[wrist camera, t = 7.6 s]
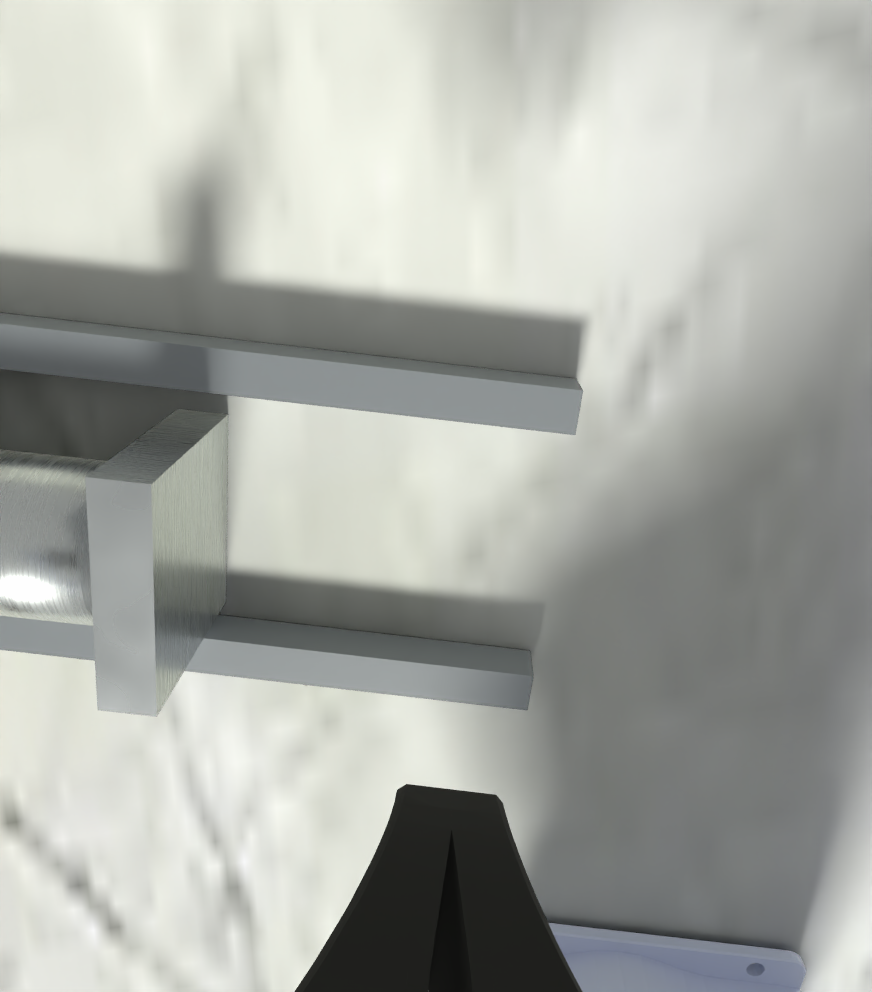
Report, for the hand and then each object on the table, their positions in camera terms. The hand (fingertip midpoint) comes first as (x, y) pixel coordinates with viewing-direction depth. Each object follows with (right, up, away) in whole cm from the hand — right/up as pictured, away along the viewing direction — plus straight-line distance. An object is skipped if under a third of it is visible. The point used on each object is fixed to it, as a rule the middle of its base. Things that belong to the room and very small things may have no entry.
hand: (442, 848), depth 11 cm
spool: (-9, +5, +9) cm, 14 cm away
